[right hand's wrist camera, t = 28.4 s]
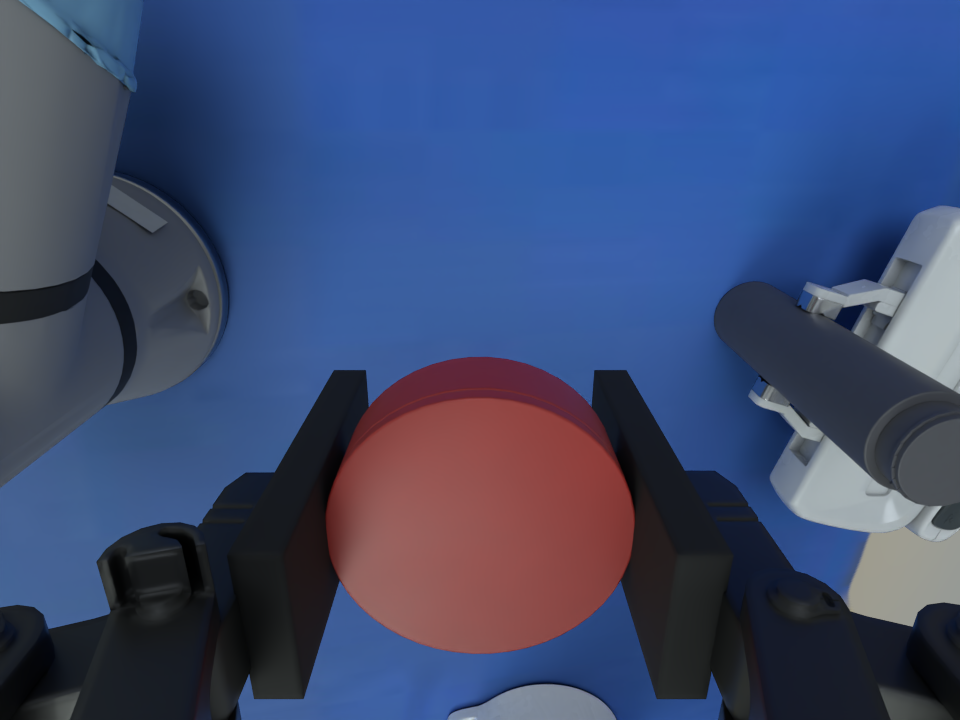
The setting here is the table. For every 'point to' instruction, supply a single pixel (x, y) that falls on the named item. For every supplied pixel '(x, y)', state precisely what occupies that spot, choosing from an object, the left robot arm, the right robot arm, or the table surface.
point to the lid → (480, 508)
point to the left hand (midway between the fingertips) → (779, 344)
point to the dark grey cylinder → (850, 392)
